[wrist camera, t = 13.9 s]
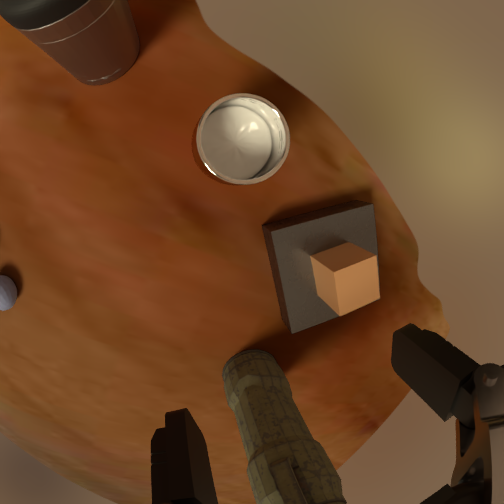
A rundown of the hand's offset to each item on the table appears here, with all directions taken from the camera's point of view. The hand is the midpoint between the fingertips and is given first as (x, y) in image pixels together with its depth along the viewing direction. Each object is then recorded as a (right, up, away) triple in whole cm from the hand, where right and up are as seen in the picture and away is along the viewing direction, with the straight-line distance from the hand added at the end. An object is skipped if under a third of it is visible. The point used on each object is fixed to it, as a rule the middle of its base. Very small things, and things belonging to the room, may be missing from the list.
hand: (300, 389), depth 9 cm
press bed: (+8, +4, +30) cm, 31 cm away
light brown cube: (+9, +3, +26) cm, 28 cm away
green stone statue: (-2, -13, +33) cm, 36 cm away
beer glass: (-6, +17, +24) cm, 29 cm away
